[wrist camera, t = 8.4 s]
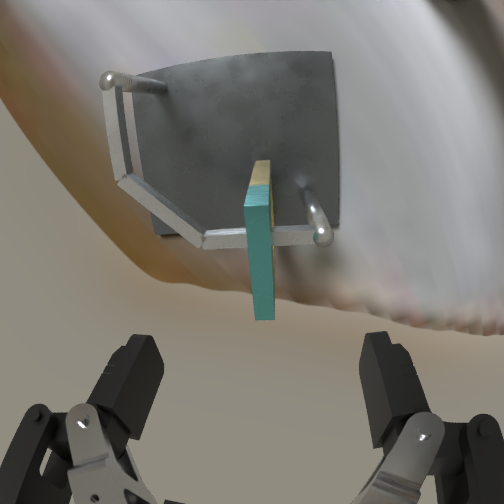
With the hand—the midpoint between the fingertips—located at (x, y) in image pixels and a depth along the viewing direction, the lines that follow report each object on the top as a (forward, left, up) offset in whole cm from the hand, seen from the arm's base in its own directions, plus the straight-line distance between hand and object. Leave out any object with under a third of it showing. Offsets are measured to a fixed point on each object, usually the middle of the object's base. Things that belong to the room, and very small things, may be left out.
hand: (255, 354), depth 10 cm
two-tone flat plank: (0, -1, -17) cm, 17 cm away
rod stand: (+3, -5, -20) cm, 21 cm away
